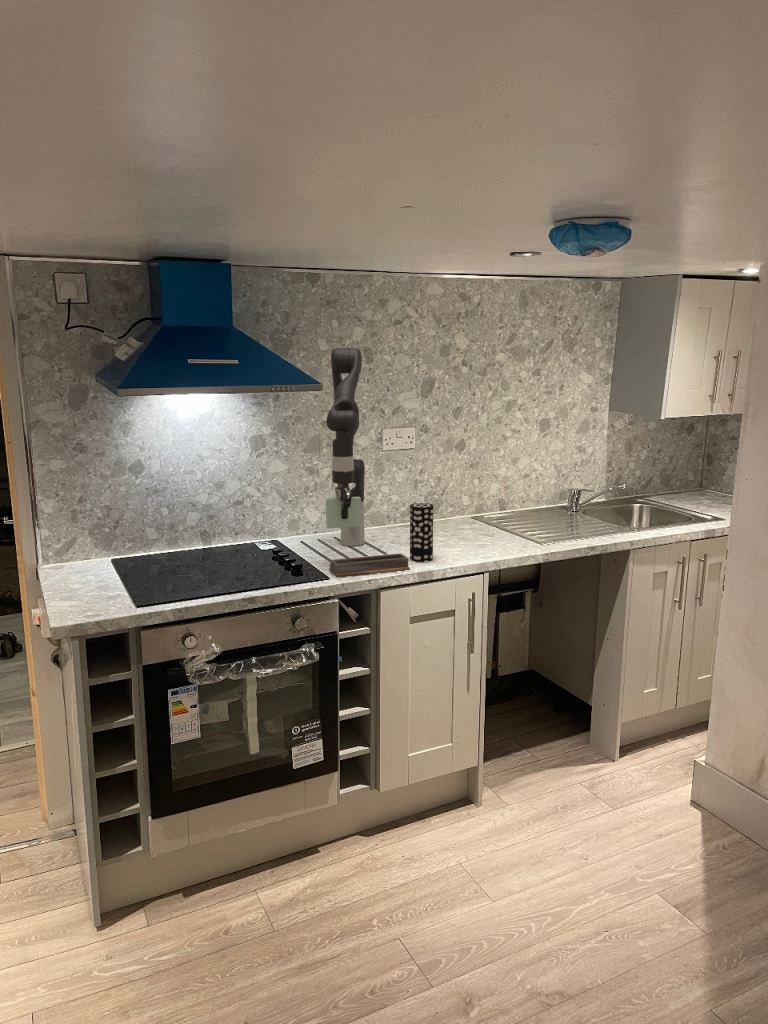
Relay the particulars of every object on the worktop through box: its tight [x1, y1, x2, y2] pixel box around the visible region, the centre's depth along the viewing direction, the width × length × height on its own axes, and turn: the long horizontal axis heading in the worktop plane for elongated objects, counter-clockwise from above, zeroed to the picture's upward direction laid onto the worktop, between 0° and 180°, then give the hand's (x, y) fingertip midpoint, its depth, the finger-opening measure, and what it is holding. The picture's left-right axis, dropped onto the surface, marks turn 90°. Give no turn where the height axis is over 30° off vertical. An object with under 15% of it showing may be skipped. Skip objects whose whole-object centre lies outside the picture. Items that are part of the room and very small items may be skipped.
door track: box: [328, 552, 411, 578], centre depth 269 cm, size 10×26×4 cm, turn 109°
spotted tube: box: [409, 502, 434, 563], centre depth 280 cm, size 8×8×20 cm
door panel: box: [325, 497, 361, 529], centre depth 271 cm, size 2×12×10 cm, turn 108°
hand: (343, 517), depth 272 cm, fingers closed on door panel, 2 cm apart
